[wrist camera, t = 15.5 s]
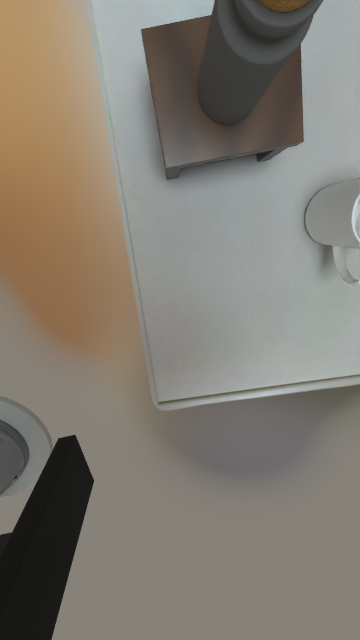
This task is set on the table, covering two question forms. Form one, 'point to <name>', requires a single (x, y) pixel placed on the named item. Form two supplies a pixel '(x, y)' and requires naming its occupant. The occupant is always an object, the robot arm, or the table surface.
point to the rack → (188, 116)
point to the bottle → (248, 52)
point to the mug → (336, 221)
